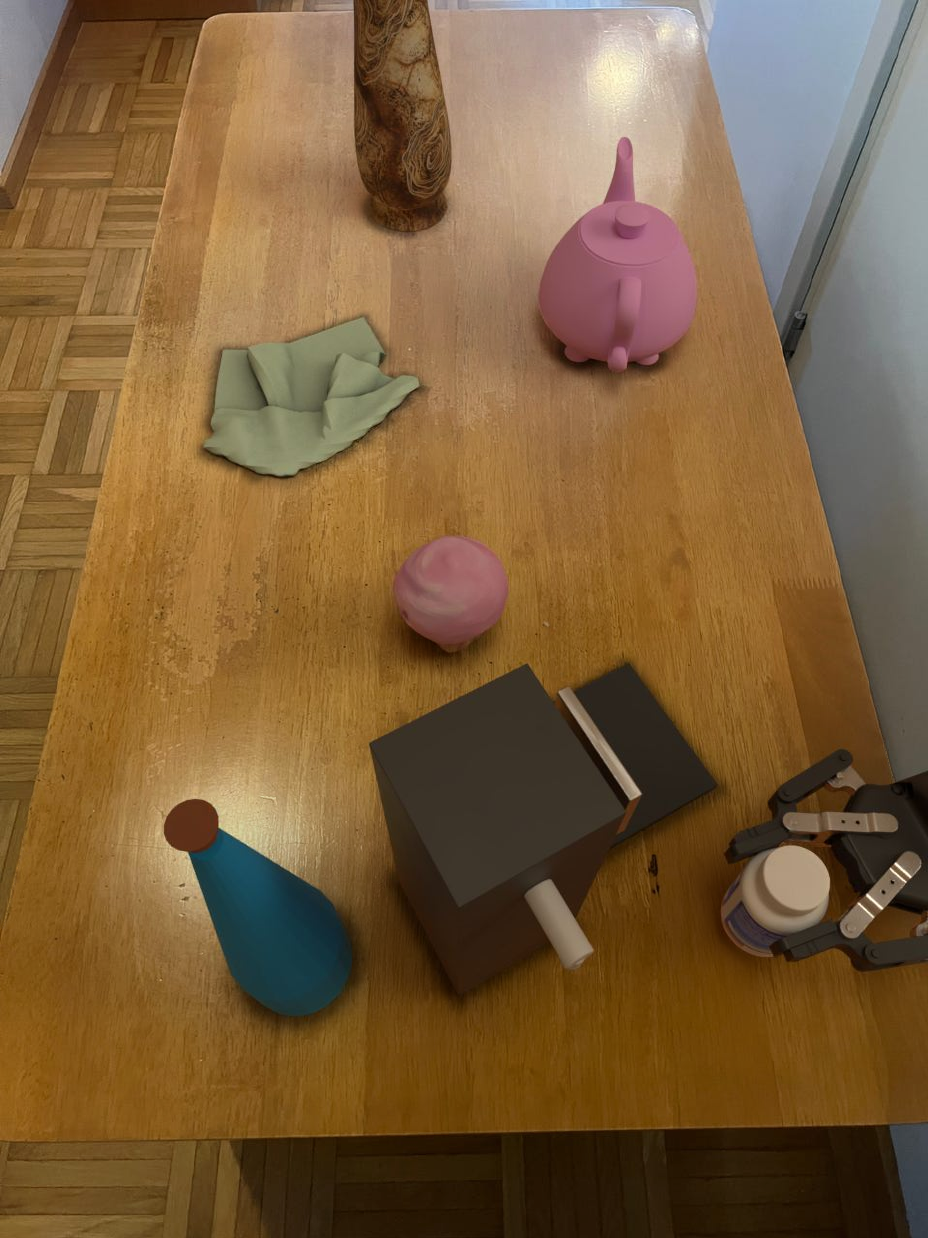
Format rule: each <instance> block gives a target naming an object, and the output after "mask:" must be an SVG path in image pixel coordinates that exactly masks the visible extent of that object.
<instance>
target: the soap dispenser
mask: <svg viewBox="0 0 928 1238" xmlns="http://www.w3.org/2000/svg"><path fill="white" fill-rule="evenodd" d="M368 747H369V750H370V757H371V760H372V764H373V769H374V774H375V779H376V783H377V788H378V792H379V796H380V797H379V798H380V802H381V805H382V811H383V815H384V819H385V824H386V829H387V834H388V838H389V842H390V847H391V851H392V857H393V860H394V861H393V862H394V865H395V869H396V875H397V880H398V883H399V885H400V887H401V889H402V890H403V892H404V894H405V896H406V898H407V900H408V902H409V904H410V906H411V908H412V909H413V912H414V913H415V915H416V917H417V919H418V921H419V923H420V925H421V927H422V929H423V931H424V933H425V935H426V937H427V938H428V940H429V942H430V945H431V946H432V948H433V950H434V952H435V954H436V956H437V959H438V960H439V962H440V964H441V965H442V967H443V969H444V971H445V974H446V975H447V977H448V979H449V982H450V983H451V985H452V986H453V989H454V991H455V993H456V995H457V996H458V997H461V996H462V995H464V994H466V993H468V992H469V991H472V990H473V989H475V988H476V987H477V986H479V985H481V984H483V983H484V982H486V981H487V980H489V979H492V977H494V976H496V975H498V974H499V973H501V972H503V971H504V970H506V969H508V968H510V967H511V966H513V965H514V964H516V963H518V962H519V961H521V960H523V959H524V958H526V957H529V956H530V955H531V954H533V953H535V952H536V951H538V950H540V949H542V948H543V947H545V946H546V945H548V944H551V945H552V947H553V949H554V951H555V952H556V954H557V956H558V959H559V963H560V964H561V966H562V967H563V968H565V969H566V970H569V971H575V970H578V969H579V968H580V967H581V966H582V965H583V963H584V961H585V960H586V959H587V958H588V957H591V955H592V954H593V953H594V948H593V946H592V945H591V943H590V941H589V940H588V938H587V937H586V935H585V933H584V932H583V930H582V928H581V926H580V925H579V923H578V921H577V920H576V918H577V916H578V914H579V912H580V910H581V908H582V906H583V904H584V902H585V899H586V897H587V896H588V893H589V891H590V889H591V887H592V885H593V883H594V881H595V879H596V877H597V874H598V873H599V871H600V869H601V866H602V865H603V862H604V860H605V859H606V856H607V854H608V852H609V850H610V849H609V848H610V846H611V844H612V842H613V840H614V838H615V836H616V834H617V831H618V829H619V827H620V825H621V823H622V821H623V819H624V817H625V815H626V813H627V812H626V810H625V809H624V807H623V806H622V804H621V803H620V801H619V800H618V798H617V797H616V795H615V794H614V792H613V791H612V789H611V788H610V786H609V785H608V783H607V782H606V780H605V779H604V777H603V776H602V774H601V773H600V771H599V770H598V768H597V767H596V765H595V764H594V762H593V761H592V759H591V758H590V756H589V755H588V753H587V752H586V750H585V749H584V747H583V746H582V744H581V743H580V741H579V740H578V738H577V737H576V735H575V734H574V732H573V731H572V729H571V728H570V726H569V725H568V723H567V722H566V720H565V719H564V717H563V716H562V714H561V713H560V711H559V710H558V708H557V707H556V705H555V704H554V701H553V699H552V698H551V696H550V695H549V694H548V691H547V690H546V688H545V687H544V685H543V684H542V683H541V681H540V680H539V679H538V677H537V676H536V674H535V673H534V670H532V668H531V667H530V665H529V663H525V664H522V665H521V666H518V667H517V668H514V669H513V670H511V671H508V672H507V673H505V674H503V675H501V676H499V677H497V678H495V679H492V680H490V681H489V682H487V683H485V684H483V685H481V686H479V687H476V688H475V689H473V690H471V691H469V692H467V693H465V694H463V695H461V696H459V697H457V698H455V699H453V700H451V701H449V702H447V703H445V704H443V705H441V706H439V707H438V708H436V709H433V710H431V711H429V712H427V713H425V714H424V715H421V716H419V717H418V718H416V719H414V720H413V719H412V720H411V721H409V722H408V723H405V724H403V725H402V726H400V727H398V728H396V729H393V730H392V731H390V732H388V733H386V734H383V735H382V736H380V737H377V738H376V739H373V740H372V741H370V742H369V743H368Z"/></svg>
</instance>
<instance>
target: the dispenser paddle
mask: <svg viewBox="0 0 928 1238" xmlns="http://www.w3.org/2000/svg"><path fill="white" fill-rule="evenodd" d="M573 692H574V690H572V689H571V687H570V686H569V685H568V686H566V687H564V688H562V689H559V690H558V691H556V694H555V698H554V701H555V703H554V704H555V705H556V707H557V708H558V710H559V711H560V713H561V714H562V716H563V717H564V719H565V720H566V722H567V723H568V725H569V726H570V728H571V729H572V731H573V732H574V734H575V735H576V737H577V738H578V740H579V741H580V743H581V744H582V746H583V747H584V749H585V750H586V752H587V753H588V755H589V756H590V758H591V759H592V761H593V762H594V764H595V765H596V767H597V768H598V770H599V771H600V773H601V774H602V776H603V777H604V779H605V780H606V782H607V783H608V785H609V786H610V788H611V789H612V791H613V792H614V794H615V795H616V797H617V798H618V800H619V801H620V803H621V804H622V806H623V807H624V809H625V810H626V812H627V813H626V815H625V817H624V819H623V821H622V823H621V825H620V827H619V829H618V831H617V834H619V833H621V832H622V831H624V830H625V828H626V826H627V824H628V822H629V820H630V818H631V816H632V814H633V812H634V810H635V808H636V806H637V804H638V802H639V800H640V798H641V796H642V792H641V791H640V790H639V788H638V787H637V785H636V784H635V782H634V781H633V779H632V778H631V776H630V775H629V773H628V772H627V770H626V769H625V768H624V766H623V765H622V763H621V762H620V760H619V759H618V757H617V756H616V754H615V753H614V751H613V750H612V748H611V747H610V746H609V744H608V743H607V741H606V740H605V738H604V737H603V735H602V734H601V732H600V731H599V729H598V728H597V726H596V725H595V724H594V722H593V721H592V719H591V718H590V716H589V715H588V713H587V712H586V710H585V709H584V707H583V706H582V704H581V703H580V702H579V700H578V699H577V697H576V696H575V694H574V693H573ZM617 834H616V835H617Z"/></svg>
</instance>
